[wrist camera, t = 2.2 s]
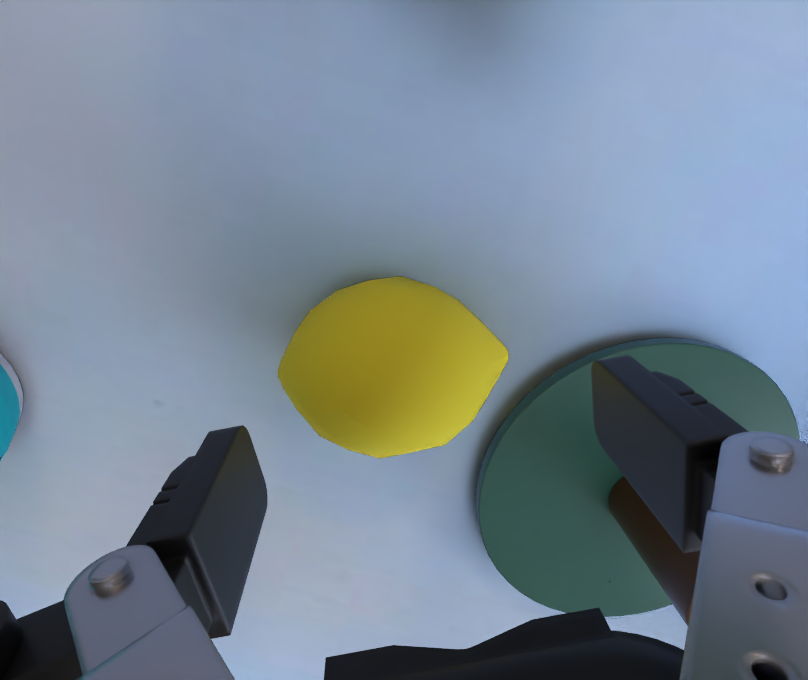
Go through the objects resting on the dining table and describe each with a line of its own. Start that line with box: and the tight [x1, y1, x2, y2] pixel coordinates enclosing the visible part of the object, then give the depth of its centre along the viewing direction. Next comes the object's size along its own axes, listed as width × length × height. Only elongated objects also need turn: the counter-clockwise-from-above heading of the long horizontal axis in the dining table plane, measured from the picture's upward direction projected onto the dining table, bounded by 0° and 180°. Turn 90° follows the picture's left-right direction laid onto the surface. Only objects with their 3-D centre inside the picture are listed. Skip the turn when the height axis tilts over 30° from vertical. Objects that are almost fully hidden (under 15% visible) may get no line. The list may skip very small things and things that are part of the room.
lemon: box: [278, 276, 509, 458], centre depth 15 cm, size 7×5×5 cm
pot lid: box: [476, 338, 799, 626], centre depth 18 cm, size 13×13×6 cm
